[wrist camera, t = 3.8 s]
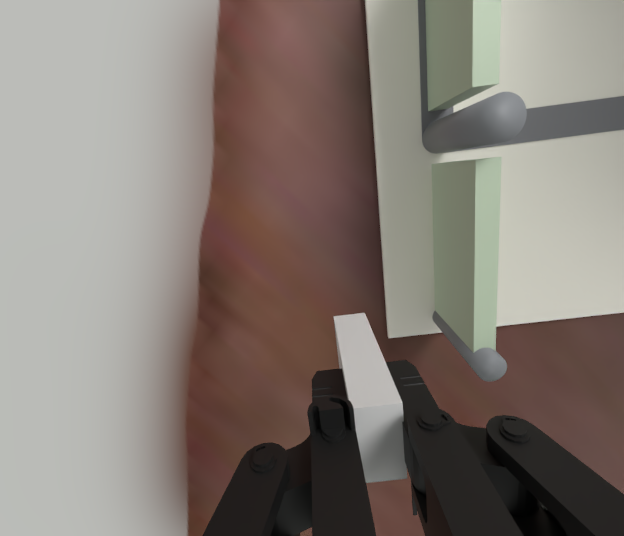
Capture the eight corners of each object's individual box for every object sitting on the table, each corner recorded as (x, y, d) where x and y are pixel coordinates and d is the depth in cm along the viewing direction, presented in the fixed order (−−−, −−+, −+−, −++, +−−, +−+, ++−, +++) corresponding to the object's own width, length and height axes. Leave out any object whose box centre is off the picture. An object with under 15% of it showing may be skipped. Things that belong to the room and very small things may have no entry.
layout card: (362, -36, 19) (363, -41, 19) (682, -84, 18) (691, -91, 18) (387, 335, 26) (388, 338, 25) (624, 309, 25) (630, 312, 25)
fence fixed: (413, -74, 19) (483, -248, 11) (448, -79, 19) (545, -259, 11) (420, 155, 22) (478, 145, 14) (450, 152, 22) (525, 139, 14)
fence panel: (428, 164, 21) (479, 159, 15) (453, 161, 21) (515, 155, 15) (432, 327, 24) (476, 382, 18) (454, 324, 24) (506, 379, 18)
